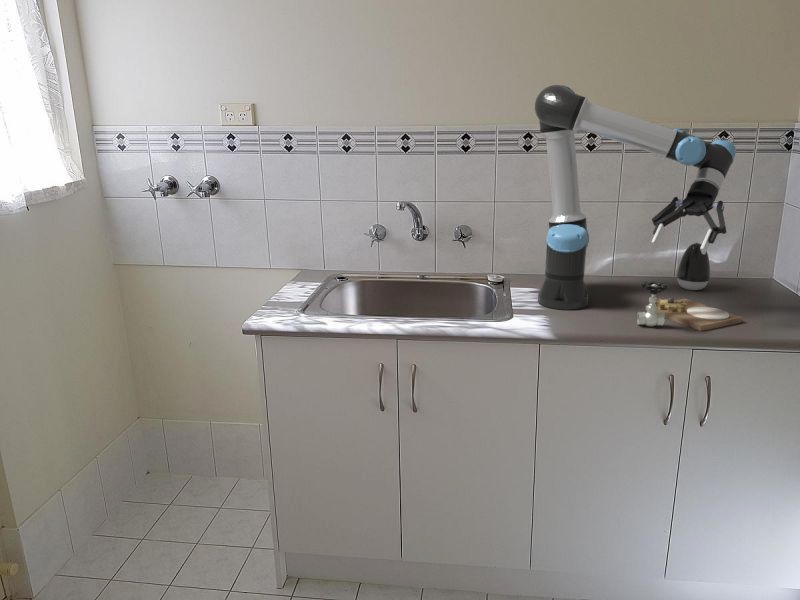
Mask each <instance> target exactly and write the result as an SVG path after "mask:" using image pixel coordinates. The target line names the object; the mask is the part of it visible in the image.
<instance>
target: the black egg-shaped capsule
mask: <svg viewBox="0 0 800 600" xmlns="http://www.w3.org/2000/svg"><path fill="white" fill-rule="evenodd" d="M701 245H702V243H699V242H695V243H692V244H689V246H688V247H687V248H686V250H685V251H684V253H683V255H682V257H681V259H680V261H679V264H678V266H677V271H676V275H675V277H676V278H677V283H678V285H679V286H680V287H681V288H682V289H685V290H688V291H700V290H703V289H705V288H706V286H707V285H708V283H709V281H710V280H711V262H710V257H709V254H708V250H707V251H706V253H705V254H702V252H701V250H700V247H701Z"/></svg>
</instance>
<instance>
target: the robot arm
mask: <svg viewBox="0 0 800 600" xmlns="http://www.w3.org/2000/svg"><path fill="white" fill-rule="evenodd" d="M534 113H535V115H536V117H537V118H538V120H539V122H538V123H539V130H540V131H539V132H540V135H541V136H542V137H543V138H545V142H546V152H547V154H546V155H547V164H548V174H549V176H548V177H549V185H550V197H551V208H552V215H551V217H550V218H549V219H548V231H547V235H546V238H545V239H546V253H545V269H544V279H543V281H542V283H541V285H540V286H541V287H540V289H539V290H540V291H538V294H537V302H538V304H539V305H541V306H542V307H543V306H544V307H547V308H550V309H554V310H555V309H557V310H566V311H567V310H578V309H583V308H586V307H587V306H588V304H589V295H588V290H587V287H586V282H585V270H586V269H585V268H586V257H587V255H586V253H587V249H588V247H589V243H590V237H589V236H590V235H589V232H588V226H587V215H586V214H585V213H583V212H582V211H581V204H580V201H581V199H580V189H579V188H580V187H579V176H578V175H579V174H578V164H577V151H576V150H577V149H576V139H575V138H576V137H575V135H576V133H577V131H579V130H582V131H585V132H587V133H590V134H594V135H597V136H600V137H604V138H606V139H609V140H612V141H615V142H617V143H621V144H624V145H627V146H630V147H634V148H636V149H640V150H643V151H645V152H648V153H652V154H654V155H657V156H661V157H664V158H667V159H669V160H672V161H675V162H678V163H680V164H681V165H684V166H693V167H694V168H697V169H698V171H697V172H696V174H695V177H694V178H693V181H692V183H691V185H690V187H689V190H688V192H687V194H686V196H685V198H684V199H680V198H678V196H675V197H673V199H672V200H671V201H670V203H668V204H667V205H666V206H665V207H664V208H662V209H661V210H660V212H658V213H657V214H655V216H653V217H652V219H651V221H652V223H653V225H654V226H655V227H654V229H653V231H652V234H653V237H652V240H651V241H650V242H651V245H652V247H653V248H657V247H658V246H659V245H658V244H659V243H660V240H661V238H662V236H663V235H664V232H665V227H666V226H668V225H670V224H672V223H673V222H675V221H676V220H678V219H680V218H684V217H686V216H692V217H693V216H695V217H700V216H703V217H704V219H705V220H706V222H707V225H708V226H709V227H710V228H708V230H707V233H706V234H705V236H704V239H703V242H702V243H701V244H702V245H701V247H700V250H701V252H702V254H705V253H706V251H707V252H708V249H709V246H710V244H714V243H715V240H716V238H717V236H718V235H719V234H723V235H725V234H727V228H726V226H727V225H726V223H725V222H726V221H725V217H724V210H725V205H724V202H723V200H718V202H715V201H716V198H717V197H718V195H719V192H720V190H721V188H722V186H723V184H724V182H725V178H726V176H727V174H728V172H729V170H730V168H731V166H732V164H733V162H734V159H735V157H736V153H737V149H736V146H735V145H734V144H733V143H732V142H731V141H729V140H727V139H726V140H722V139H716V140H714V141H712V142H708V141H705V140H703V139H701V138H700V137H697V136H695V135H693V134H691V133H688V132H686V131H685V130H681V129H679V128H669V127H665V126H664V125H659V124H657V123H655V122H654V123H653V122H650V121H648V120H644V119H642V118H638V117H635V116H632V115H629V114H627V113H624V112H619V111H617V110H614V109H611V108H607V107H604V106H601V105H598V104H595V103H592V102H589V99H588V97H586V96H582V95H579V94H577V93H576V92H575V91H574V90H573V89H572V88H570V87H569V86H566V85H564V84H552V85H549V86H547V87H544V88H543V89H542V90H541V91H540V93H539V94H538V95H537V97H536V99H535V102H534ZM713 209H714V211H716V212H717V213H716V214H717V217H718V218H717V219H718V225H719V226H717V225H716V223H715V221H714V219H713V218H712V216H711V214H710V211H711V210H713Z"/></svg>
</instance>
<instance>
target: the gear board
mask: <svg viewBox="0 0 800 600" xmlns="http://www.w3.org/2000/svg"><path fill="white" fill-rule="evenodd" d="M655 304H656V306H657V307H658V310H657V311H656V313H664V316H665V319H666V320H669V321H673V322H675V323H678V324H680V325H683V326H686V327H689V328H690V329H693V330H696V331H699V332H702V331H707V330H712V329H717V328H723V327H726V326H732V325H736V324H741V323H743V319H744V318H743V317H744V316H743V317H742V316H740V315H736V314H733V313H730V312H728V311H726V310H723V309H720V308H716V307H712V306H709V305H707V304H704V303H700V302H697V301H694V300H691V299H688V298H681V299H676V300H675V298H673V297H668V298H667V299H663V298H657V300H656V302H655ZM647 305H648V304H646V305H645V307H644V308H645V309H644V312H647V310H646V306H647Z"/></svg>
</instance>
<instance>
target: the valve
mask: <svg viewBox="0 0 800 600" xmlns="http://www.w3.org/2000/svg"><path fill="white" fill-rule="evenodd" d="M640 286H641V288H643V289H645V291H649V294H650V296H649V298H648V302H649V303H648V304H646V305H647V306H646V305H645V307H646V310H647V311H638V312H637V316H636V323H637V326H644V325H645V326H646V327H655V326H656V327H663V326H664V325H665V321H666V318H665V316H664V313H656V311H657V310H658V307H657V306H656V304H655V302H656V301H658V298H657V297H656V295H658V294H659V293H661V292H665V291H666V290H668V284H664V283H663V282H661V281H660V282H655V281H652V280H651V281H650V282H649V281H644V282H643V283H641V285H640Z"/></svg>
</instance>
